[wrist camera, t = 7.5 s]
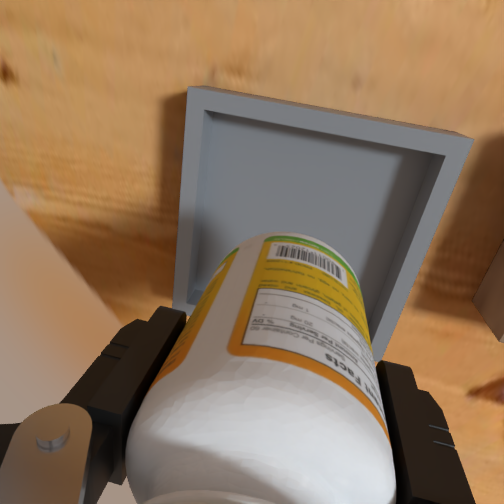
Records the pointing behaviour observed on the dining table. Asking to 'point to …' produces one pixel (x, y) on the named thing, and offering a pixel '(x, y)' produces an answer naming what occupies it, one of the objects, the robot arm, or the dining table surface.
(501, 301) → the holder
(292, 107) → the tray
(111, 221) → the dining table surface
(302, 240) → the supplement bottle
